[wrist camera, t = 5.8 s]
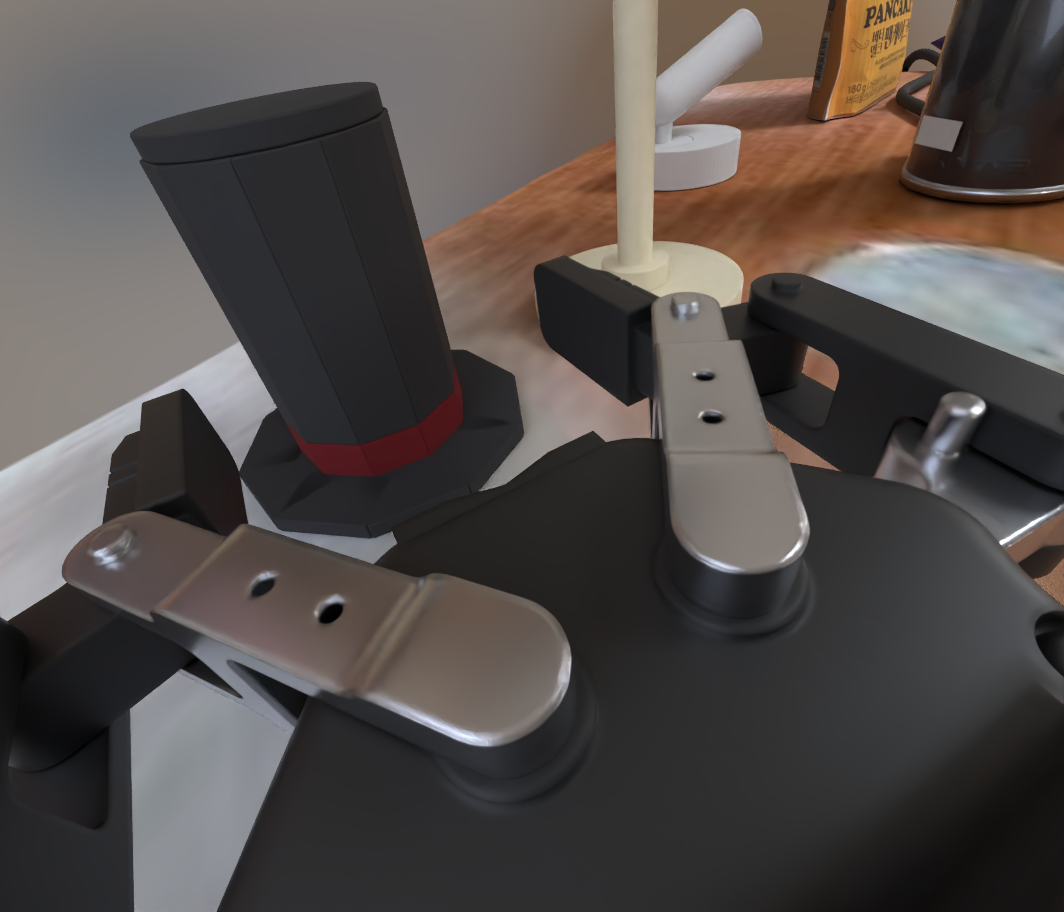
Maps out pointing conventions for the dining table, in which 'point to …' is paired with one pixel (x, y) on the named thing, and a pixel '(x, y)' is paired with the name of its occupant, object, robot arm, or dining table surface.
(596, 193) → the dining table surface
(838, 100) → the pancake mix bag
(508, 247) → the dining table surface
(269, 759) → the dining table surface
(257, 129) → the hat
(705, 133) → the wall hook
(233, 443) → the dining table surface
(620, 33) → the hat stand
